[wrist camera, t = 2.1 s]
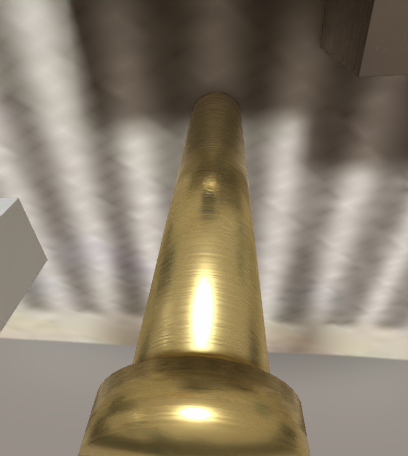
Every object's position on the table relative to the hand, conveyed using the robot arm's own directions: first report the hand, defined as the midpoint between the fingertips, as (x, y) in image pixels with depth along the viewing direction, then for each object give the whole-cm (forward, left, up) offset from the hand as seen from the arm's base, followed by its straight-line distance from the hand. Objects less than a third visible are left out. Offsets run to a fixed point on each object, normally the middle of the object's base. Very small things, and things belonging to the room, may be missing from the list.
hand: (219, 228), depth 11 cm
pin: (0, 0, -10) cm, 10 cm away
